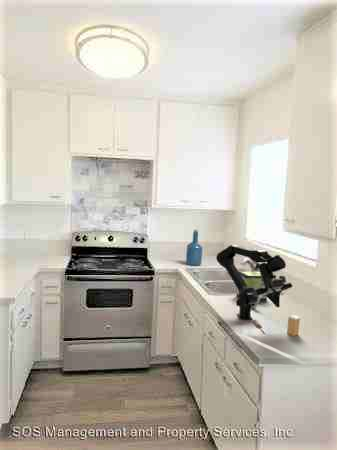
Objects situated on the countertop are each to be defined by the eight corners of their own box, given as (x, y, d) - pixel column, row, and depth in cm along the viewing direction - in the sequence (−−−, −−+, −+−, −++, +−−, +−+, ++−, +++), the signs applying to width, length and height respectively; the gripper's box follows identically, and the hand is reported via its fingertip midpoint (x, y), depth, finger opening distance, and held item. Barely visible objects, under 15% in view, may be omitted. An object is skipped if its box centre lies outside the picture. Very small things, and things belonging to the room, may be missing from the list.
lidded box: (286, 333, 165) (288, 316, 164) (291, 331, 167) (292, 314, 166) (293, 336, 162) (295, 318, 161) (298, 334, 164) (300, 317, 164)
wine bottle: (204, 265, 310) (206, 230, 307) (195, 267, 300) (198, 231, 297) (191, 262, 318) (193, 228, 315) (182, 264, 308) (184, 229, 305)
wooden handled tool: (251, 324, 177) (252, 319, 176) (256, 324, 177) (257, 319, 177) (261, 336, 163) (262, 331, 162) (266, 336, 163) (267, 331, 163)
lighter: (247, 307, 203) (248, 293, 202) (248, 306, 204) (249, 292, 204) (259, 310, 199) (260, 296, 198) (260, 309, 200) (262, 295, 200)
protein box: (236, 296, 224) (238, 271, 222) (258, 295, 228) (260, 271, 226) (244, 301, 214) (246, 275, 212) (267, 300, 218) (269, 275, 216)
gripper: (257, 274, 164) (268, 308, 159) (292, 267, 169) (304, 299, 164) (247, 280, 174) (257, 312, 169) (281, 273, 179) (292, 304, 174)
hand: (278, 307), depth 169 cm, fingers closed
